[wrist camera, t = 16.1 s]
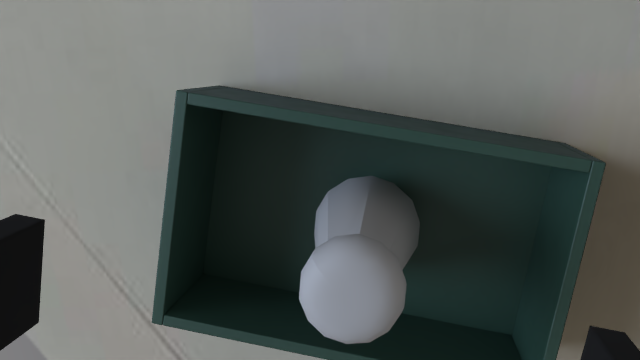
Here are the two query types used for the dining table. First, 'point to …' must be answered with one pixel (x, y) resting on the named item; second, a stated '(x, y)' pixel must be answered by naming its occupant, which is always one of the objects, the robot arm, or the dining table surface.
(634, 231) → the dining table surface
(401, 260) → the salt shaker
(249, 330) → the tote
